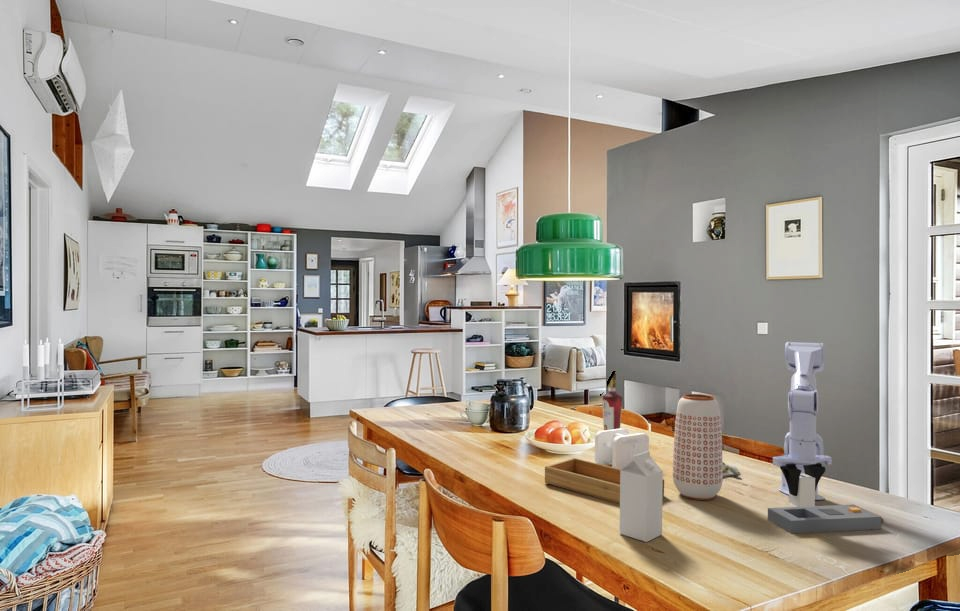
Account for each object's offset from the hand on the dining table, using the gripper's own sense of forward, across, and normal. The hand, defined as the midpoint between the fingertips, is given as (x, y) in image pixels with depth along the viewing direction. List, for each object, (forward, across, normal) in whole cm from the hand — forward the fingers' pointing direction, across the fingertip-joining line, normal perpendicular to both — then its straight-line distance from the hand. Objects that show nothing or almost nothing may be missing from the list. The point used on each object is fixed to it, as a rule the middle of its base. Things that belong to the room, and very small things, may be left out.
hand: (801, 494), depth 149 cm
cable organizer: (+8, -24, +56) cm, 61 cm away
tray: (+8, -39, +33) cm, 52 cm away
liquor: (+8, -17, +84) cm, 86 cm away
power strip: (+8, +8, 0) cm, 11 cm away
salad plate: (+8, +3, +50) cm, 51 cm away
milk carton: (+8, -42, -1) cm, 43 cm away
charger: (+2, 0, 0) cm, 2 cm away
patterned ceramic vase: (+8, -14, +25) cm, 30 cm away
